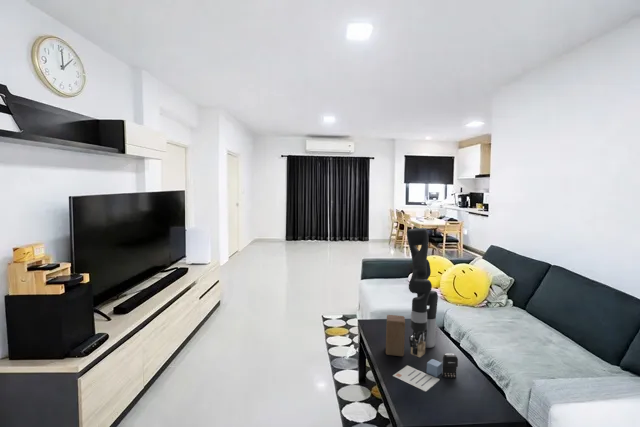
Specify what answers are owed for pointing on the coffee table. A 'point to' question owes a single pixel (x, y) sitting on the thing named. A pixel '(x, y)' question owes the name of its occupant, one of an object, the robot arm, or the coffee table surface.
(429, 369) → the blue cube
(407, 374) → the letter
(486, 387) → the coffee table surface
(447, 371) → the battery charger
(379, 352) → the coffee table surface
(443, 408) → the coffee table surface
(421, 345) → the oak block
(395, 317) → the wooden block
